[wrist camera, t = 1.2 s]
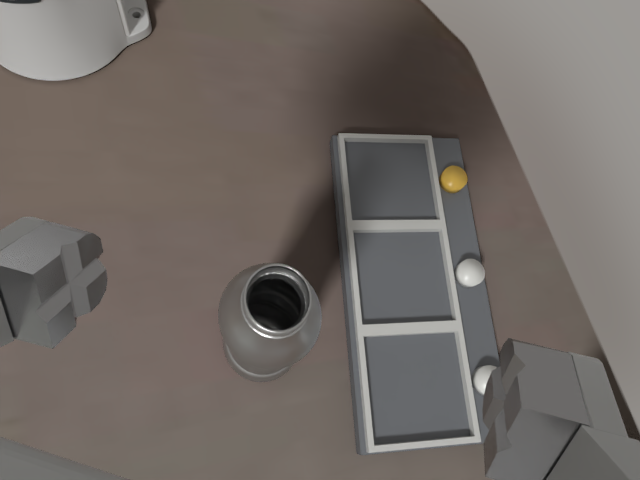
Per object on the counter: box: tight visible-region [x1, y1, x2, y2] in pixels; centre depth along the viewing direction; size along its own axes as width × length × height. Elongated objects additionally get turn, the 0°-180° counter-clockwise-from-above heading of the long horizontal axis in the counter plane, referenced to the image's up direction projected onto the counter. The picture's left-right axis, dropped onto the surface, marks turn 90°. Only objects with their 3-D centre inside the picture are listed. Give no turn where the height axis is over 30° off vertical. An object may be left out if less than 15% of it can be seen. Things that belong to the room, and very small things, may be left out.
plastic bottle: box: [218, 263, 322, 382], centre depth 34 cm, size 6×7×20 cm
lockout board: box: [330, 133, 500, 455], centre depth 46 cm, size 30×14×3 cm, turn 4°
